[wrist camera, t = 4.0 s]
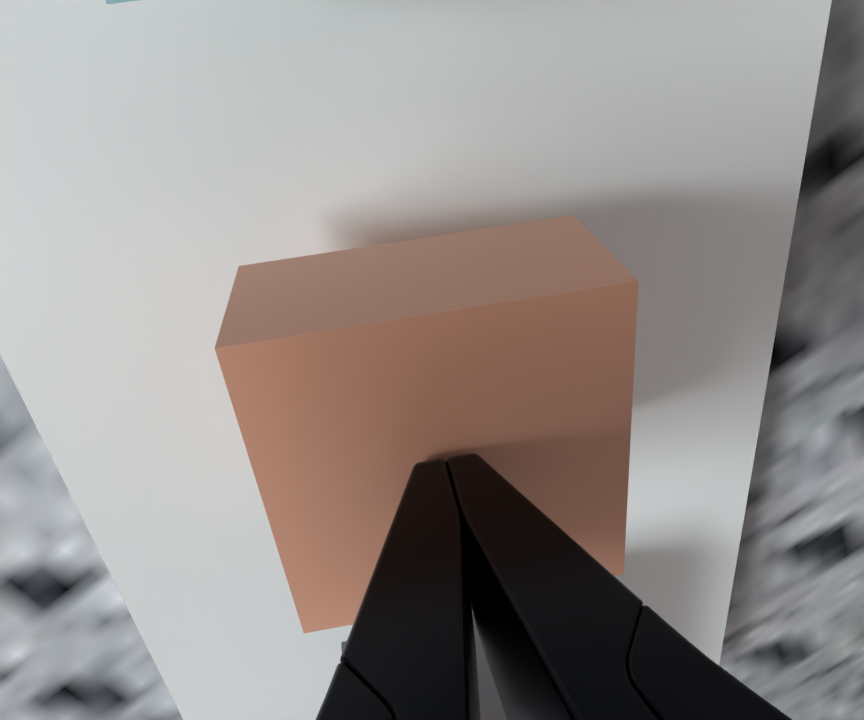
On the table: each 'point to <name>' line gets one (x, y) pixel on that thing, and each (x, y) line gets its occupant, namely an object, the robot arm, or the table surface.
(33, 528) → the table surface
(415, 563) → the robot arm
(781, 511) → the table surface
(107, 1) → the teal button
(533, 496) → the terracotta button
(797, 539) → the table surface
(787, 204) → the button board
